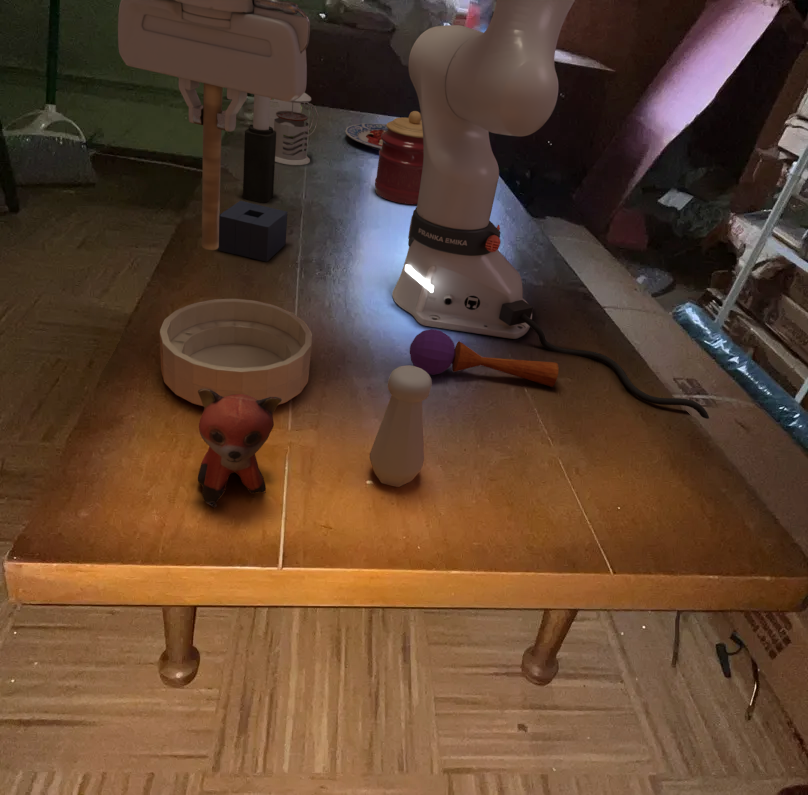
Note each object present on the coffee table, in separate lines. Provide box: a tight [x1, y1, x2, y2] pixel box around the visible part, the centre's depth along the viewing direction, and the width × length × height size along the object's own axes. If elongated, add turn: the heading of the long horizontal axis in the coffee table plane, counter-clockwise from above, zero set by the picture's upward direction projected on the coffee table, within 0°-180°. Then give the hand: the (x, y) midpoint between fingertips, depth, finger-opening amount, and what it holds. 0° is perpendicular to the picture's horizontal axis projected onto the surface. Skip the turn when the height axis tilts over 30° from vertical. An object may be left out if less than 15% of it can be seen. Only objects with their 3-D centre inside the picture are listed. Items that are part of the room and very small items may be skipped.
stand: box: [217, 200, 289, 263], centre depth 122 cm, size 9×9×6 cm
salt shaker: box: [369, 365, 433, 488], centre depth 75 cm, size 6×6×13 cm
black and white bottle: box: [242, 94, 276, 203], centre depth 138 cm, size 5×5×25 cm
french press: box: [274, 92, 319, 166], centre depth 163 cm, size 10×12×25 cm
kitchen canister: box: [374, 110, 424, 205], centre depth 155 cm, size 13×13×18 cm
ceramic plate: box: [344, 122, 388, 151], centre depth 193 cm, size 26×26×3 cm
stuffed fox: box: [197, 389, 282, 508], centre depth 71 cm, size 8×11×12 cm
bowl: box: [159, 298, 313, 407], centre depth 89 cm, size 18×18×6 cm
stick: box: [201, 83, 224, 251], centre depth 83 cm, size 2×2×22 cm
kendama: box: [409, 328, 559, 388], centre depth 98 cm, size 6×6×20 cm
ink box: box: [269, 98, 303, 139], centre depth 183 cm, size 10×5×14 cm, turn 94°
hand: (212, 126), depth 81 cm, fingers closed on stick, 2 cm apart
